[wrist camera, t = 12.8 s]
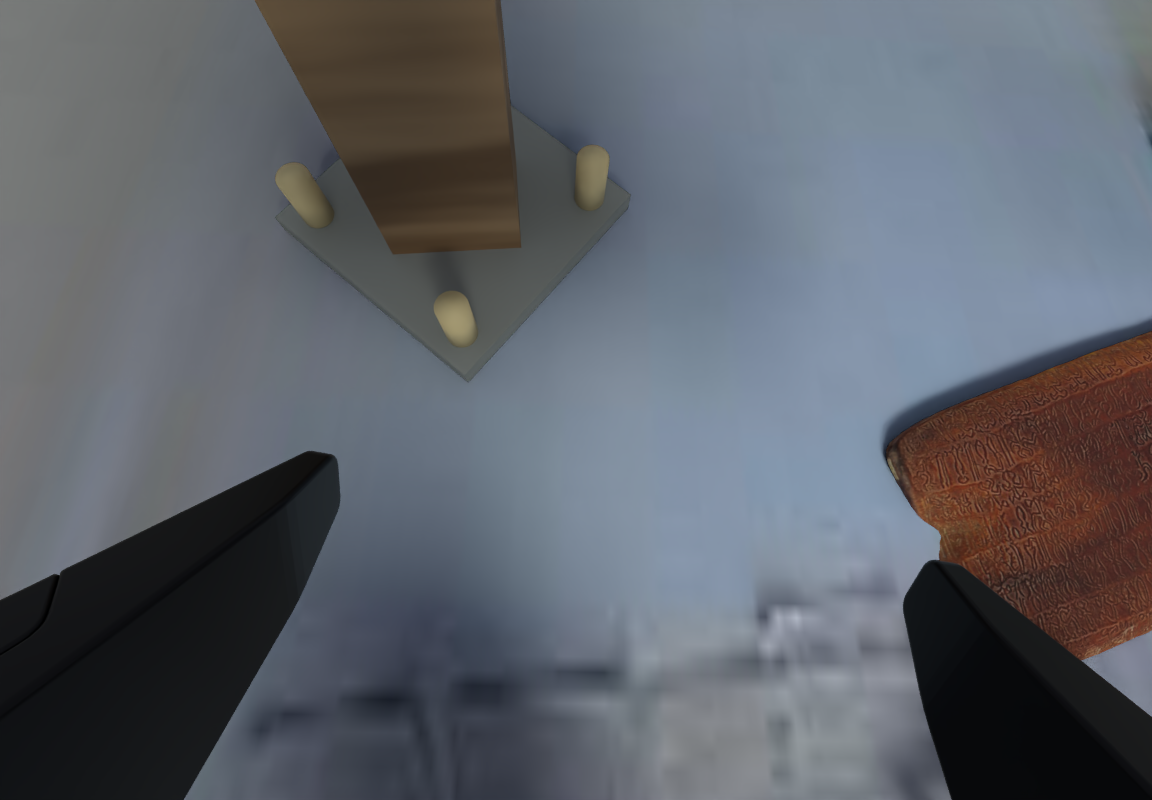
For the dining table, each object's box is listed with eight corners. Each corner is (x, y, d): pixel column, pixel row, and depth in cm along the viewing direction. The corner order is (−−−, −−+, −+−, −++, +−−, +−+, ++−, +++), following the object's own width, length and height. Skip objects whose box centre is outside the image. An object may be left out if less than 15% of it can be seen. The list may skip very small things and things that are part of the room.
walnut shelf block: (521, 247, 24) (488, -60, 12) (392, 254, 24) (225, -53, 12) (515, 158, 25) (479, -209, 13) (392, 164, 25) (237, -206, 13)
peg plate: (468, 382, 24) (453, 354, 20) (285, 230, 25) (243, 179, 22) (627, 208, 26) (638, 156, 22) (451, 76, 27) (437, 7, 24)
